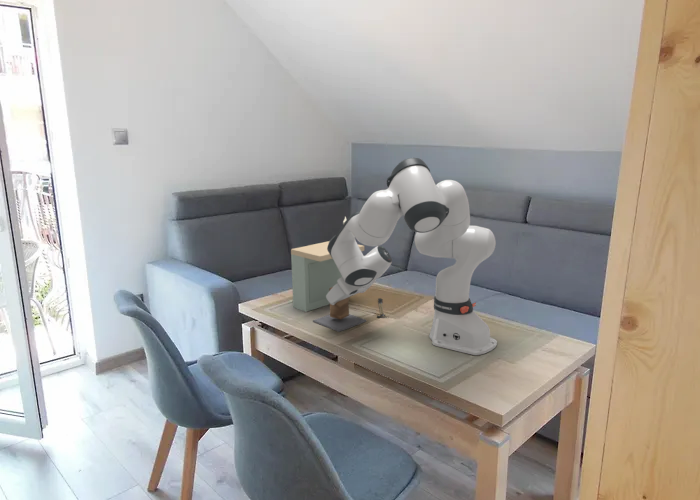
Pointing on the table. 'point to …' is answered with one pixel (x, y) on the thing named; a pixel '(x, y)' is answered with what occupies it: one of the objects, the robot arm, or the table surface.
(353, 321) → the mat
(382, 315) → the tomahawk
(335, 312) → the walnut block
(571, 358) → the table surface
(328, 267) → the cabinet
